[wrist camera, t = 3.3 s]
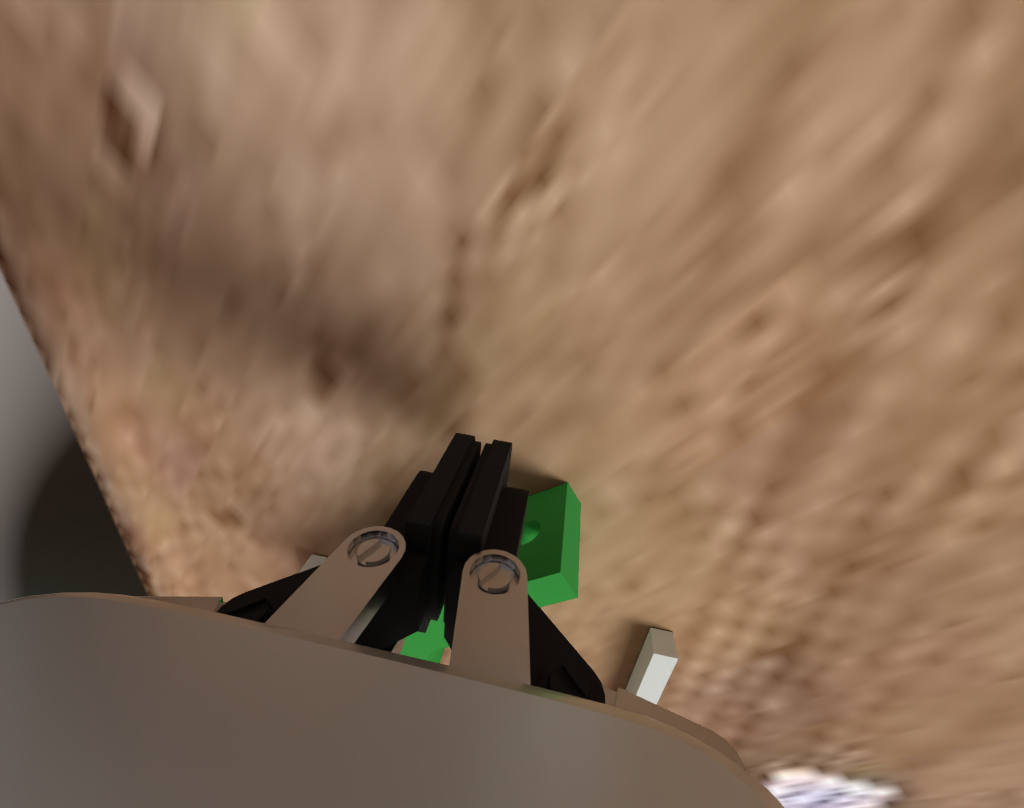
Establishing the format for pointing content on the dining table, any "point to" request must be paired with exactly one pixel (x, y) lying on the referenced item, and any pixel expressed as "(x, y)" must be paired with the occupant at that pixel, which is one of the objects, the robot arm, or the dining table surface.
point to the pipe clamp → (529, 562)
